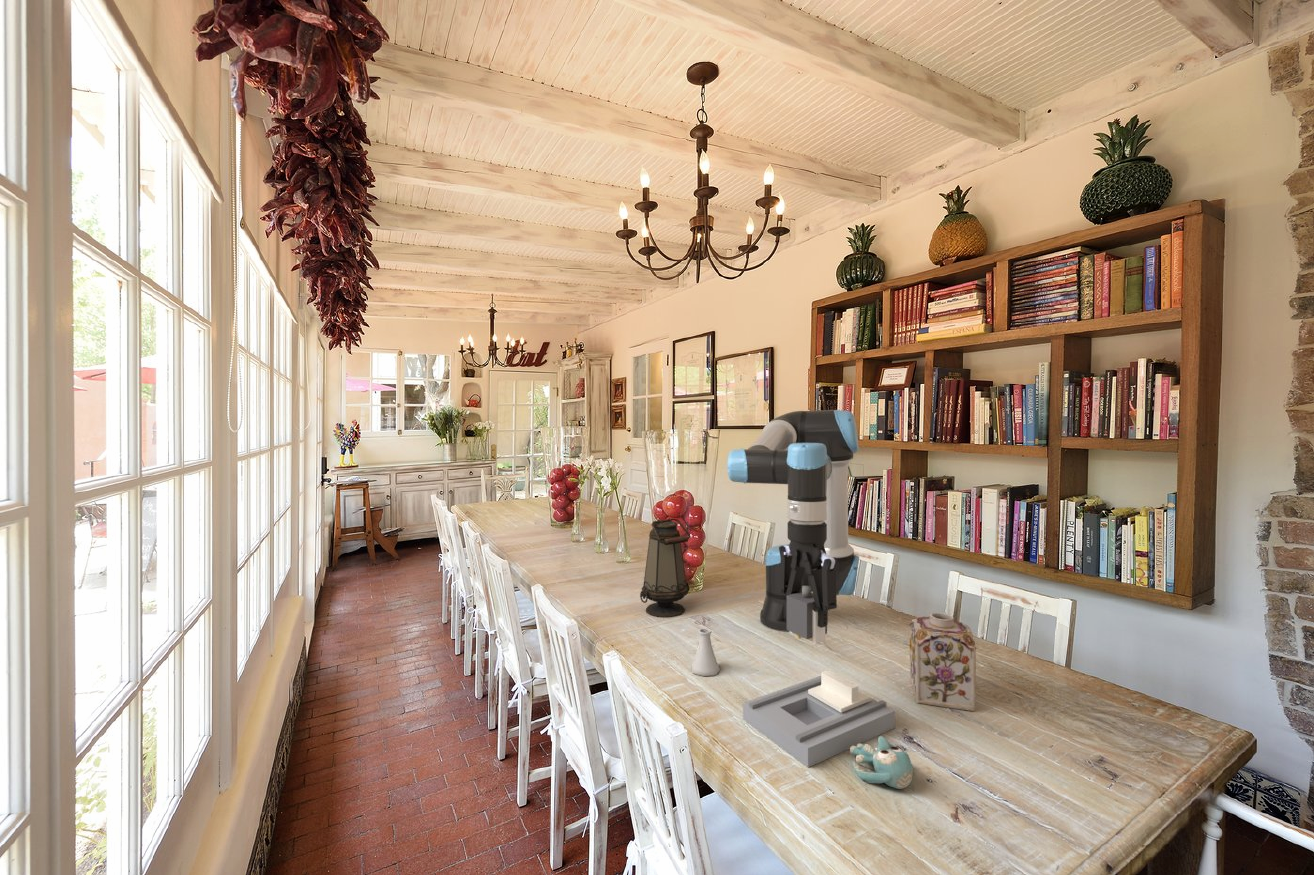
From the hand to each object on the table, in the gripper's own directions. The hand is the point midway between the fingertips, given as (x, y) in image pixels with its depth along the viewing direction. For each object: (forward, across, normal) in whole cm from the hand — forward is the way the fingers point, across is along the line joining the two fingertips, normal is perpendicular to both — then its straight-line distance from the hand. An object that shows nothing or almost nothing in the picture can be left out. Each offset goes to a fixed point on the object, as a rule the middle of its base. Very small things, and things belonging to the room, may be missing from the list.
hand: (806, 636), depth 107 cm
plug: (0, 0, 0) cm, 0 cm away
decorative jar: (+19, +6, +35) cm, 40 cm away
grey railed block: (+19, 0, +3) cm, 19 cm away
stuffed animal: (+19, +16, +1) cm, 25 cm away
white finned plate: (+15, 0, +9) cm, 17 cm away
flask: (+19, -31, -3) cm, 36 cm away
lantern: (+19, -72, +10) cm, 75 cm away
